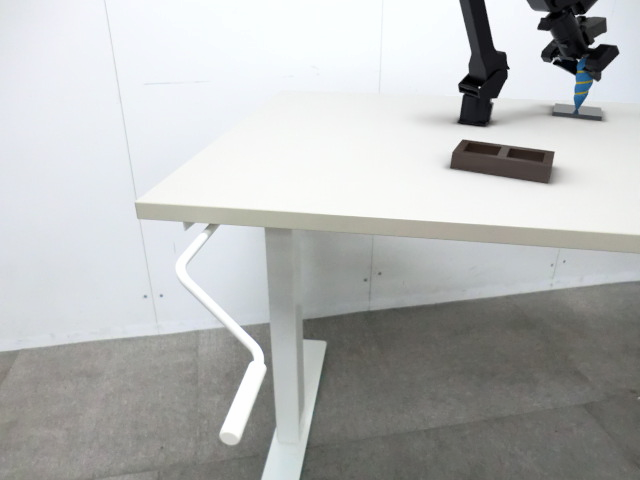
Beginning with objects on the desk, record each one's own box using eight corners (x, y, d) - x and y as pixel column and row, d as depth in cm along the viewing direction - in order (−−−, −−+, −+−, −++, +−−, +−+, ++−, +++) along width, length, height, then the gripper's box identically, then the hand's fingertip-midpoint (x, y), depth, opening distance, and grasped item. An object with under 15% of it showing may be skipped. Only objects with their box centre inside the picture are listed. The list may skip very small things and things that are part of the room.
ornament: (585, 108, 125) (602, 46, 118) (590, 112, 120) (609, 48, 113) (563, 106, 126) (580, 45, 119) (568, 110, 121) (585, 47, 114)
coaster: (552, 115, 121) (553, 111, 121) (554, 106, 130) (555, 103, 130) (601, 120, 117) (602, 116, 117) (600, 111, 126) (601, 107, 125)
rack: (548, 183, 79) (552, 166, 78) (449, 168, 85) (452, 151, 84) (550, 167, 86) (554, 151, 85) (460, 154, 92) (462, 139, 91)
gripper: (626, 5, 103) (647, 58, 111) (561, 2, 118) (584, 49, 127) (587, 45, 104) (611, 95, 113) (528, 37, 120) (553, 81, 128)
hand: (589, 78), depth 120 cm, fingers open, 5 cm apart
